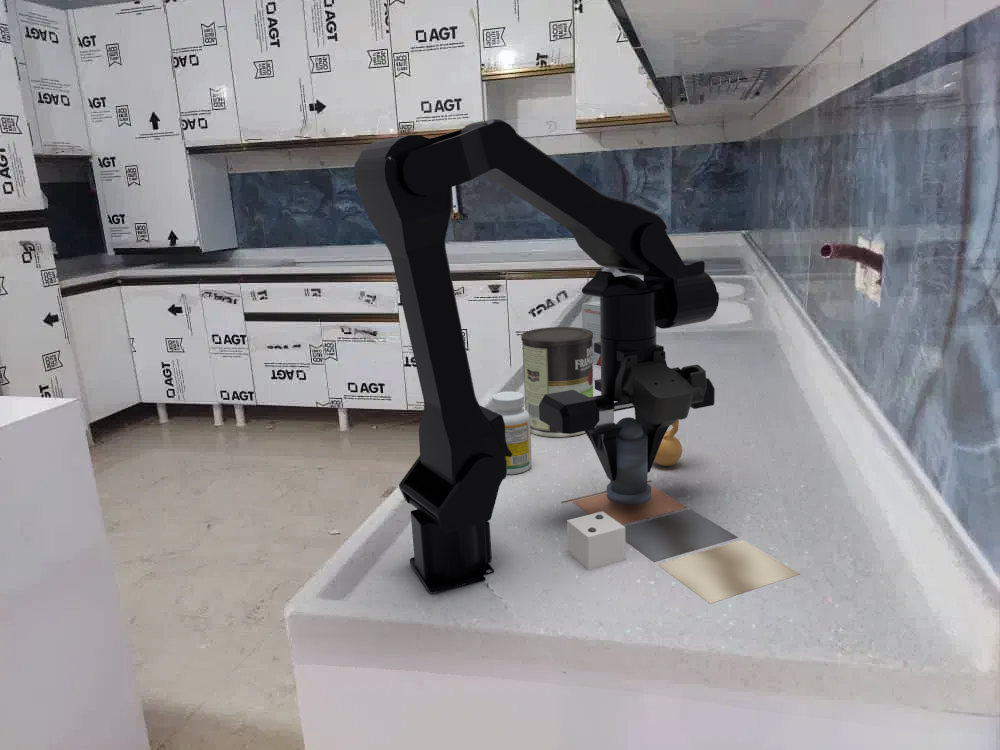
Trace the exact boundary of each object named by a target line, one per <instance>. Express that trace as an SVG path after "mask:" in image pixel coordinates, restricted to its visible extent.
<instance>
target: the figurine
mask: <svg viewBox="0 0 1000 750" xmlns="http://www.w3.org/2000/svg"><path fill="white" fill-rule="evenodd" d="M679 423H680V421H679V419H678V420H677V421H675V422H674V423H673V424H672V425H671V427H672V428H671V429H670V430H667V431H666V433H665V435H664V437H663V439H662V442H661V444H660V447H659V449H658V452H657V454H656V457H655V460H654V462H655V463H656V464H658V465H660V466H662V467H663V466H664V467H668V466H673V465H675V464H676V463H678V461H680V459H681V457H682V456H683V446H682V443H681V441H680V440H679V438H677V437H676V436H675V435H676V434H677V432H678V431H679V426H680V425H679Z"/></svg>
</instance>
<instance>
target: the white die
mask: <svg viewBox="0 0 1000 750" xmlns="http://www.w3.org/2000/svg"><path fill="white" fill-rule="evenodd" d="M566 529H567V530H566V532H567V533H566V536H567V538H566V539H567V553H569V554H570V555H571V556H572V557H574V558H575V559H576V560H577V561H578V562H579V563H580V564H581V565H583V566H584V567H585V568H586V569H587V570H588V571H590V570H594V569H597V568H601V567H604V566H608V565H611V564H615V563H619V562H623V561H625V560H626V559H627V558H626V548H627V547H626V541H625V525H624V524H623V525H621V524H620V523H618V522H617V521H616V520H614V519H613V518H611V517H610V516H609V515H607V514H606V513H604V512H603V511H602V512H598V513H594V514H586V515H583V516H579V517H575V518H571V519H567V520H566Z"/></svg>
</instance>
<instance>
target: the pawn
mask: <svg viewBox="0 0 1000 750" xmlns="http://www.w3.org/2000/svg"><path fill="white" fill-rule="evenodd" d="M616 424H617V425H619V426H621V427H622V429H621V431H620V432H619V434H618V435H617V437H616V451H617V473H616V480H614V481H612V480H610V479H609V481H610V482H609V483H608V484H607V485H606V491H607V498H608V499H609V500H610V501H612V502H614V503H616V504H621V505H640V504H644V503H646V502H648V501H649V500H650V499H651V486H652V485H651V484H650V483H649V482H648V483H647V481H648V477H649V476H648V473H649V472H648V435H647V434H646V433H644V432H643V428H642V425H641V424H640V422H639V421H637V420H636V419H635V417H631V416H630V417H628V416H627V417H623V418H621V419H620V420H618V421H617V422H616ZM650 485H651V486H650Z"/></svg>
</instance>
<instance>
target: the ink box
mask: <svg viewBox="0 0 1000 750" xmlns="http://www.w3.org/2000/svg"><path fill="white" fill-rule="evenodd" d="M581 316H582V317H581V318H582V319H581V320H582V324H581V325H582V327H581V328H583V329H587V330H590V331H592V332H593V338H592V354H593V363H595V364H594V365H598V364H599V365H598V366H601V354H598V353H596V352H594V343H596V342H600V300H599V301H598V300H597V301H589V302H583V303H582V304H581Z"/></svg>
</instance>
